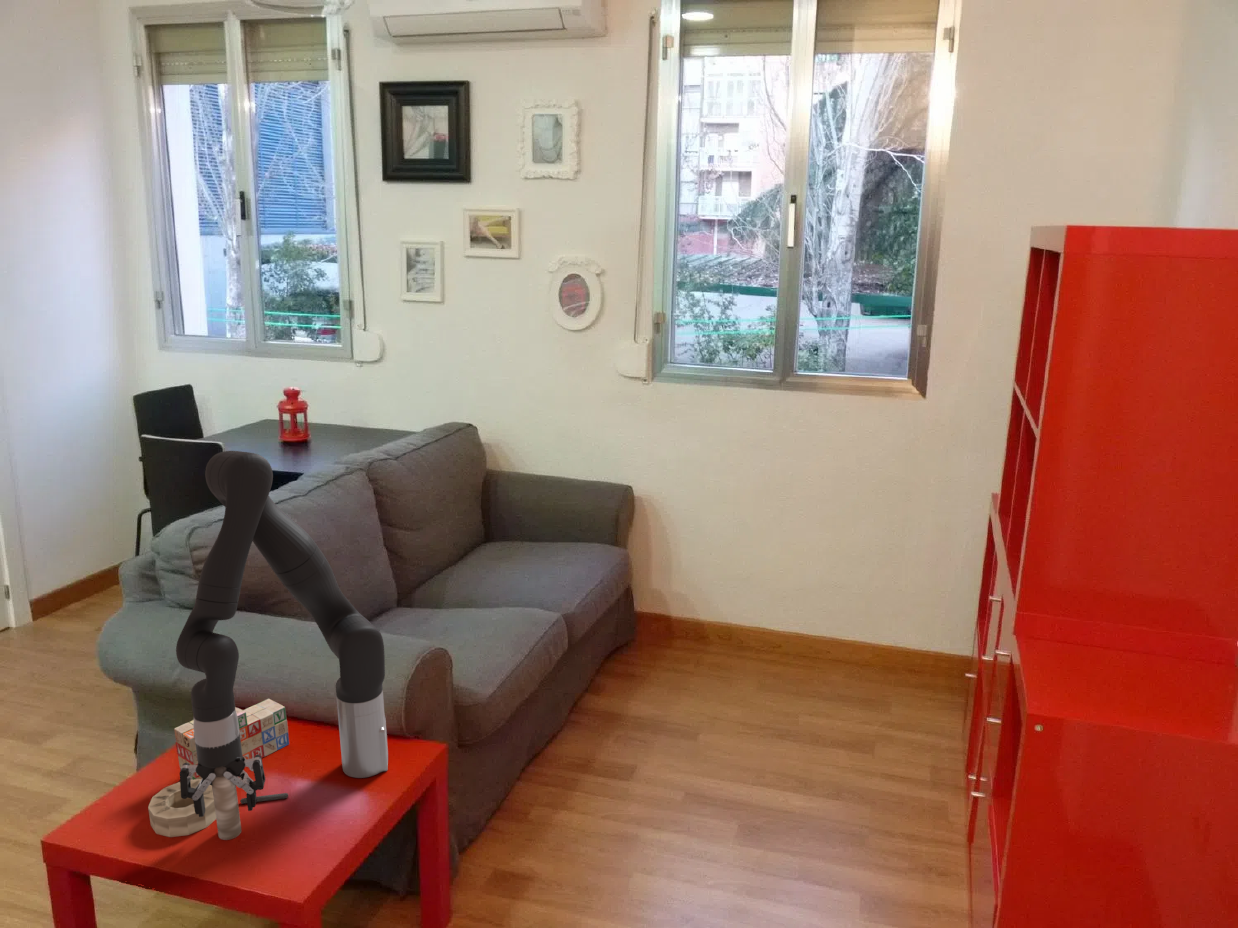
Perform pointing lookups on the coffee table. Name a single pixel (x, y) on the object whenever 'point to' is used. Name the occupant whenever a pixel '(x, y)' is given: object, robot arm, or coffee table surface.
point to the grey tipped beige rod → (226, 806)
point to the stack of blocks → (243, 733)
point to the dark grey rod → (267, 797)
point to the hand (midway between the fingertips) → (226, 811)
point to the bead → (179, 811)
